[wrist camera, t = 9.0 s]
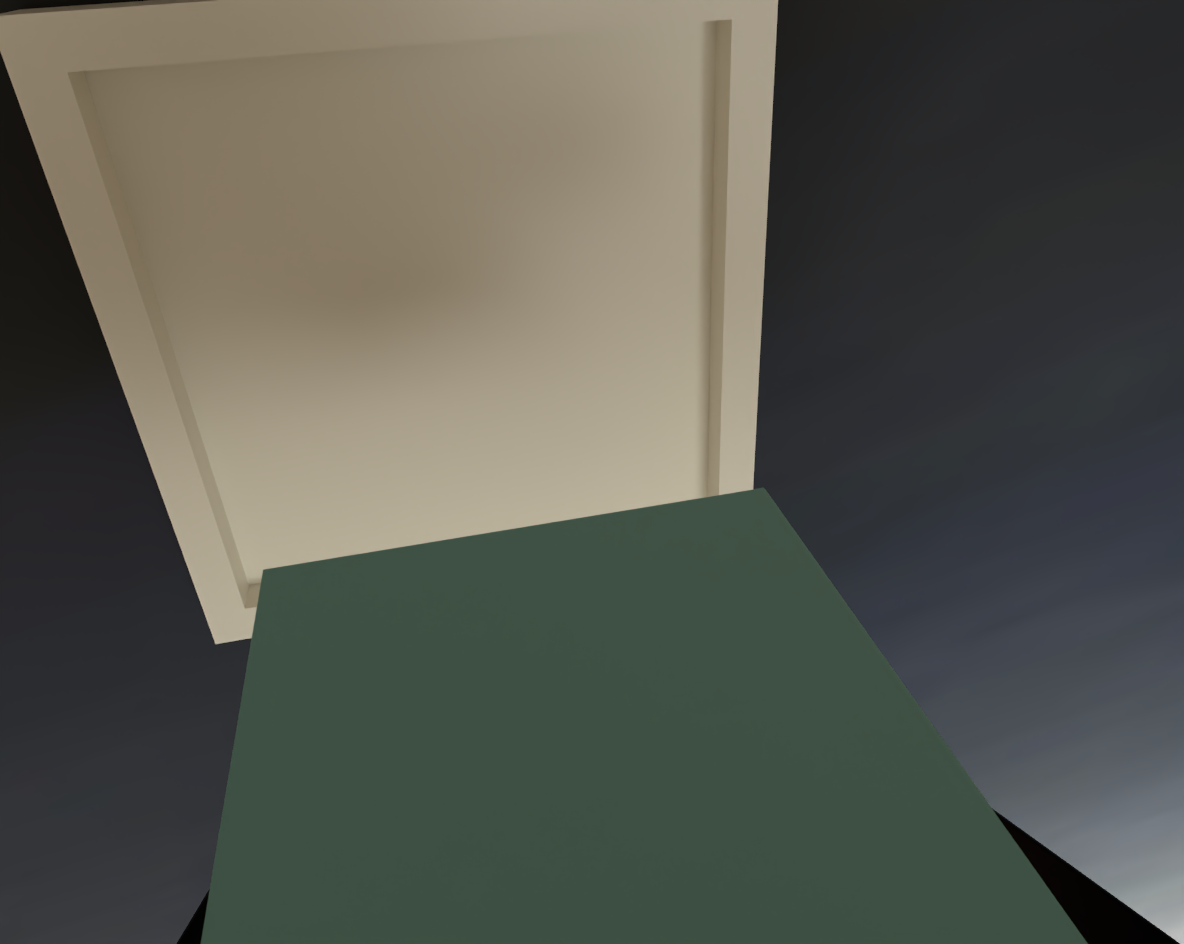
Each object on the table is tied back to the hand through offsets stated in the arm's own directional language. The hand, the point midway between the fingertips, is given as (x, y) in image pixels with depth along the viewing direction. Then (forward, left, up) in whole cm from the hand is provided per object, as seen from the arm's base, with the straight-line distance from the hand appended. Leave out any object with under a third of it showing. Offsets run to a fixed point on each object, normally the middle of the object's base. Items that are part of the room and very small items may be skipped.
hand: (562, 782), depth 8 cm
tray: (0, 0, -12) cm, 12 cm away
